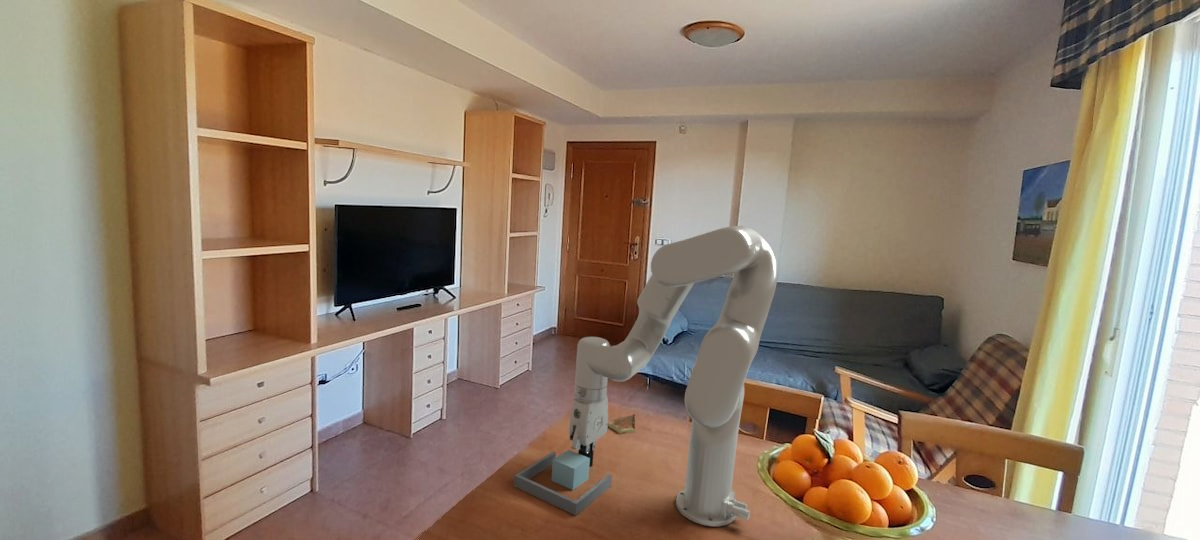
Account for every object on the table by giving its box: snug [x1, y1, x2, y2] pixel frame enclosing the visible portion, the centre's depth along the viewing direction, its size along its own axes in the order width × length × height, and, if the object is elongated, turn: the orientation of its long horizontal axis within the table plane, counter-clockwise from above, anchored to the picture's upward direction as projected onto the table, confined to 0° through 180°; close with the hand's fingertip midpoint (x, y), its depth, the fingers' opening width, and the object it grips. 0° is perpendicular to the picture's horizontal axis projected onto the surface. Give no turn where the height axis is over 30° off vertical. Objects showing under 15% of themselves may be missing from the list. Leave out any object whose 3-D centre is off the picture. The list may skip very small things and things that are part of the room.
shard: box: [608, 413, 636, 434], centre depth 143 cm, size 11×8×2 cm
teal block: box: [551, 449, 590, 491], centre depth 114 cm, size 6×6×5 cm
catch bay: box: [513, 450, 613, 516], centre depth 111 cm, size 17×14×2 cm
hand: (584, 465), depth 118 cm, fingers closed
